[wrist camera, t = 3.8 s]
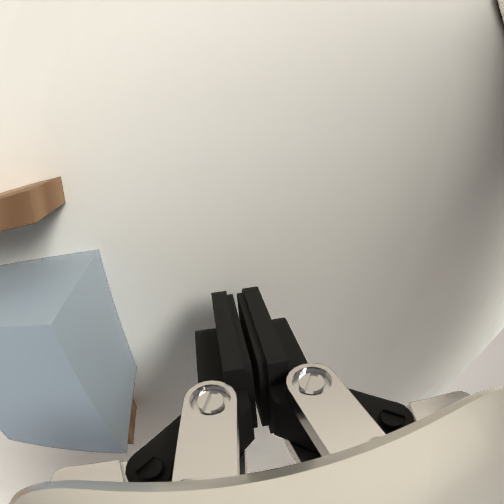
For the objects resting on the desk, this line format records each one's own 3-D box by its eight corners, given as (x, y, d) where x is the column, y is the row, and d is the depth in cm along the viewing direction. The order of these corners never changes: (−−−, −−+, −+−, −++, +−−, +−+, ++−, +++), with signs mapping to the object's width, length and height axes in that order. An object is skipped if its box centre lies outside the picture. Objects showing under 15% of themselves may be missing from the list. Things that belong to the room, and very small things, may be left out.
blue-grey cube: (100, 248, 11) (51, 324, 6) (137, 365, 13) (126, 453, 8) (-9, 265, 10) (-69, 327, 5) (37, 367, 12) (8, 439, 7)
